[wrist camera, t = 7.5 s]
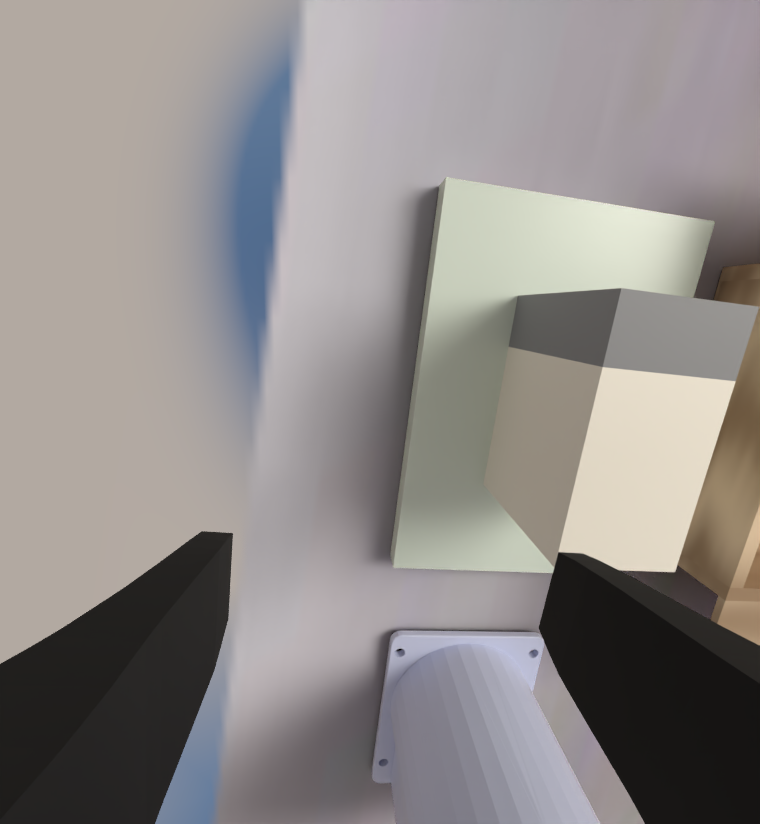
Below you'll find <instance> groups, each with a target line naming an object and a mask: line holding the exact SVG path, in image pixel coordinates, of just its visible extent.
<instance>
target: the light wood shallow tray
mask: <svg viewBox="0 0 760 824" xmlns="http://www.w3.org/2000/svg"><path fill="white" fill-rule="evenodd" d="M713 301H720V302H728V303H735V304H743V305H750V306H757V307H759V309H758V313H757V316H756V319H755V322H754V325H753V328H752V332H751V335H750V338H749V341H748V344H747V347H746V350H745V354H744V357H743V360H742V363H741V366H740V369H739V372H738V376H737V379H736V382H735V385H734V388H733V391H732V394H731V398H730V401H729V404H728V407H727V410H726V413H725V417H724V420H723V423H722V426H721V429H720V432H719V435H718V439H717V442H716V445H715V448H714V451H713V454H712V457H711V461H710V464H709V467H708V470H707V473H706V476H705V480H704V483H703V486H702V489H701V492H700V495H699V498H698V502H697V505H696V508H695V511H694V514H693V517H692V520H691V524H690V527H689V530H688V533H687V536H686V539H685V542H684V546H683V549H682V552H681V555H680V558H679V561H678V566H679V567H681V568H682V569H683V570H685V571H686V572H687V573H689V574H690V575H691V576H693V577H694V578H695V579H697V580H698V581H700V582H701V583H702V584H704V585H705V586H706V587H708V588H709V589H710V590H712V591H713V592H714V593H716V594H717V595H718V599H717V602H716V605H715V607H714V610H713V613H712V616H711V619H710V620H711V621H713V622H715V623H717V624H719V625H721V626H722V627H724V628H726V629H728V630H730V631H732V632H734V633H736V634H738V635H740V636H742V637H744V638H746V639H748V640H750V641H752V642H754V643H756V644H758V645H760V263H758V264H749V265H740V266H730V267H723V269H722V273H721V276H720V280H719V283H718V287H717V290H716V293H715V297H714V300H713Z"/></svg>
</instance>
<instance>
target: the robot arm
mask: <svg viewBox="0 0 760 824" xmlns="http://www.w3.org/2000/svg"><path fill="white" fill-rule="evenodd" d="M232 538H233V534H232V533H220V532H200V533H199V534H198V535H196V536H195V537H194V538H192V539H190V540H189V541H188V542H186V543H185V544H184V545H182V546H181V547H180V548H178V549H177V550H176V551H174V552H173V553H172V554H170V555H169V556H168V557H166V558H165V559H164V560H162V561H161V562H160V563H158V564H157V565H155V566H154V567H153V568H151V569H150V570H148V571H147V572H146V573H144V574H143V575H142V576H140V577H139V578H137V579H136V580H134V581H133V582H132V583H130V584H129V585H128V586H126V587H125V588H123V589H122V590H120V591H119V592H117V593H115V594H114V595H112V596H111V597H110V598H108V599H106V600H105V601H103V602H102V603H100V604H99V605H97V606H96V607H94V608H93V609H91V610H89V611H88V612H86V613H85V614H83V615H82V616H80V617H79V618H77V619H76V620H74V621H73V622H71V623H70V624H68V625H67V626H65V627H63V628H62V629H60V630H58V631H57V632H55V633H53V634H52V635H50V636H48V637H47V638H45V639H43V640H42V641H40V642H38V643H36V644H35V645H33V646H31V647H30V648H28V649H26V650H24V651H23V652H21V653H19V654H17V655H15V656H14V657H12V658H10V659H8V660H7V661H5V662H3V663H1V664H0V824H155V822H156V819H157V816H158V814H159V811H160V808H161V806H162V803H163V800H164V798H165V795H166V793H167V790H168V788H169V785H170V783H171V780H172V777H173V775H174V772H175V770H176V767H177V765H178V762H179V759H180V757H181V754H182V752H183V749H184V747H185V744H186V742H187V739H188V737H189V734H190V731H191V729H192V726H193V724H194V721H195V718H196V716H197V714H198V711H199V708H200V706H201V703H202V700H203V698H204V695H205V693H206V690H207V688H208V685H209V683H210V680H211V677H212V675H213V672H214V669H215V666H216V662H217V658H218V655H219V651H220V648H221V644H222V640H223V636H224V633H225V629H226V625H227V621H228V613H229V595H230V576H231V557H232ZM539 630H540V632H541V635H542V637H543V638H542V637H541V635H540V634H539V633H536V632H483V631H402V630H401V631H397V632H395V633H393V634H392V635H391V638H390V643H389V650H388V657H387V664H386V671H385V679H384V686H383V693H382V700H381V707H380V714H379V721H378V728H377V735H376V743H375V750H374V757H373V764H372V779H373V781H374V782H376V783H391V788H392V796H393V804H394V813H395V821H396V824H600V822H599V820H598V818H597V816H596V814H595V813H594V811H593V809H592V807H591V805H590V803H589V801H588V799H587V797H586V795H585V793H584V791H583V789H582V787H581V785H580V784H579V782H578V780H577V778H576V776H575V774H574V772H573V770H572V768H571V766H570V764H569V762H568V760H567V758H566V757H565V755H564V753H563V751H562V749H561V747H560V745H559V743H558V741H557V739H556V737H555V735H554V733H553V731H552V729H551V728H550V726H549V724H548V722H547V720H546V718H545V716H544V714H543V712H542V710H541V708H540V706H539V704H538V702H537V701H536V699H535V697H534V695H533V689H534V685H535V680H536V676H537V672H538V668H539V664H540V660H541V656H542V652H543V648H544V642H545V644H546V647H547V649H548V652H549V654H550V656H551V658H552V660H553V663H554V665H555V667H556V669H557V671H558V674H559V676H560V677H561V679H562V681H563V683H564V685H565V686H566V688H567V690H568V692H569V693H570V695H571V697H572V698H573V700H574V702H575V704H576V705H577V707H578V709H579V711H580V712H581V714H582V716H583V717H584V719H585V721H586V722H587V724H588V726H589V728H590V729H591V731H592V733H593V734H594V736H595V738H596V739H597V741H598V743H599V744H600V746H601V748H602V749H603V751H604V753H605V755H606V756H607V758H608V760H609V761H610V763H611V765H612V766H613V768H614V770H615V772H616V773H617V775H618V777H619V778H620V780H621V782H622V783H623V785H624V787H625V788H626V790H627V792H628V794H629V795H630V797H631V799H632V801H633V802H634V804H635V806H636V808H637V810H638V812H639V813H640V815H641V817H642V819H643V821H644V822H645V824H760V645H758V644H756V643H754V642H752V641H750V640H748V639H746V638H744V637H742V636H740V635H738V634H736V633H734V632H732V631H730V630H728V629H726V628H724V627H722V626H721V625H719V624H717V623H715V622H713V621H711V620H709V619H707V618H705V617H704V616H702V615H700V614H698V613H696V612H694V611H692V610H691V609H689V608H687V607H685V606H683V605H681V604H680V603H678V602H676V601H674V600H672V599H670V598H669V597H667V596H665V595H663V594H661V593H660V592H658V591H656V590H654V589H652V588H650V587H649V586H647V585H645V584H643V583H641V582H640V581H638V580H636V579H634V578H632V577H630V576H628V575H627V574H625V573H623V572H621V571H619V570H617V569H615V568H613V567H611V566H609V565H607V564H605V563H603V562H601V561H599V560H597V559H595V558H593V557H590V556H588V555H586V554H583V553H566V552H558V556H557V559H556V563H555V567H554V571H553V575H552V579H551V583H550V587H549V590H548V594H547V598H546V602H545V606H544V610H543V614H542V618H541V621H540V625H539ZM543 639H544V640H543ZM400 648H401V649H402V650H401V651H396V650H397V649H400ZM531 650H533V651H531Z"/></svg>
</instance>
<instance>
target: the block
mask: <svg viewBox="0 0 760 824" xmlns="http://www.w3.org/2000/svg"><path fill="white" fill-rule="evenodd" d="M758 309H759V307H757V306H750V305H743V304H735V303H728V302H720V301H713V300H706V299H698V298H691V297H683V296H676V295H669V294H661V293H654V292H647V291H639V290H632V289H624V288H616V289H602V290H588V291H574V292H560V293H546V294H532V295H519V296H518V298H517V303H516V309H515V314H514V320H513V325H512V331H511V336H510V342H509V347H508V352H507V358H506V363H505V369H504V374H503V380H502V385H501V390H500V396H499V401H498V407H497V412H496V418H495V423H494V429H493V434H492V439H491V445H490V450H489V456H488V461H487V467H486V472H485V477H484V483H483V485H484V486H485V487H486V488H487V489H488V491H489V492H490V493H491V494H492V495H493V496H494V498H495V499H496V500H497V501H498V502H499V504H500V505H501V506H502V507H503V508H504V509H505V511H506V512H507V513H508V514H509V515H510V516H511V518H512V519H513V520H514V521H515V522H516V523H517V525H518V526H519V527H520V528H521V529H522V531H523V532H524V533H525V534H526V535H527V536H528V538H529V539H530V540H531V541H532V542H533V543H534V545H535V546H536V547H537V548H538V549H539V550H540V552H541V553H542V554H543V555H544V556H545V558H546V559H547V560H548V561H549V562H550V563H551V565H552V566H553V567H555V563H556V559H557V556H558V552H566V553H583V554H586V555H588V556H590V557H593V558H595V559H597V560H599V561H601V562H603V563H605V564H607V565H609V566H611V567H613V568H615V569H617V570H624V571H653V572H675V571H676V568H677V565H678V561H679V558H680V555H681V552H682V549H683V546H684V542H685V539H686V536H687V533H688V530H689V527H690V524H691V520H692V517H693V514H694V511H695V508H696V505H697V502H698V498H699V495H700V492H701V489H702V486H703V483H704V480H705V476H706V473H707V470H708V467H709V464H710V461H711V457H712V454H713V451H714V448H715V445H716V442H717V439H718V435H719V432H720V429H721V426H722V423H723V420H724V417H725V413H726V410H727V407H728V404H729V401H730V398H731V394H732V391H733V388H734V385H735V382H736V379H737V376H738V372H739V369H740V366H741V363H742V360H743V357H744V354H745V350H746V347H747V344H748V341H749V338H750V335H751V332H752V328H753V325H754V322H755V319H756V316H757V313H758Z"/></svg>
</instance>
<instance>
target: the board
mask: <svg viewBox="0 0 760 824" xmlns="http://www.w3.org/2000/svg"><path fill="white" fill-rule="evenodd" d="M714 223H715V221H709V220H703V219H697V218H691V217H685V216H679V215H673V214H667V213H661V212H654V211H648V210H642V209H636V208H630V207H624V206H618V205H612V204H606V203H600V202H594V201H588V200H582V199H575V198H569V197H563V196H557V195H551V194H545V193H539V192H533V191H527V190H521V189H515V188H509V187H503V186H496V185H490V184H484V183H478V182H472V181H466V180H460V179H454V178H448V177H446V178H445V179H444V181H443V182H442V183H441V184H440V185H439V192H438V200H437V207H436V215H435V222H434V230H433V237H432V245H431V252H430V260H429V267H428V275H427V282H426V290H425V297H424V305H423V312H422V320H421V327H420V335H419V342H418V350H417V357H416V365H415V372H414V380H413V387H412V395H411V402H410V410H409V417H408V425H407V432H406V440H405V447H404V455H403V462H402V470H401V477H400V485H399V492H398V500H397V508H396V515H395V523H394V530H393V538H392V545H391V553H390V556H391V561H392V565H393V568H413V569H443V570H473V571H503V572H534V573H553V571H554V567H553V566H552V565H551V563H550V562H549V561H548V560H547V559H546V558H545V556H544V555H543V554H542V553H541V552H540V550H539V549H538V548H537V547H536V546H535V545H534V543H533V542H532V541H531V540H530V539H529V538H528V536H527V535H526V534H525V533H524V532H523V531H522V529H521V528H520V527H519V526H518V525H517V523H516V522H515V521H514V520H513V519H512V518H511V516H510V515H509V514H508V513H507V512H506V511H505V509H504V508H503V507H502V506H501V505H500V504H499V502H498V501H497V500H496V499H495V498H494V496H493V495H492V494H491V493H490V492H489V491H488V489H487V488H486V487H485V486H484V485H483V483H484V477H485V472H486V467H487V461H488V456H489V450H490V445H491V439H492V434H493V429H494V423H495V418H496V412H497V407H498V401H499V396H500V390H501V385H502V380H503V374H504V369H505V363H506V358H507V352H508V347H509V342H510V336H511V331H512V325H513V320H514V314H515V309H516V303H517V298H518V296H519V295H532V294H546V293H560V292H574V291H588V290H602V289H616V288H624V289H632V290H639V291H647V292H654V293H661V294H669V295H676V296H683V297H691V298H694V295H695V291H696V287H697V284H698V280H699V277H700V273H701V270H702V266H703V262H704V259H705V255H706V252H707V248H708V245H709V241H710V238H711V234H712V230H713V227H714Z"/></svg>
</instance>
